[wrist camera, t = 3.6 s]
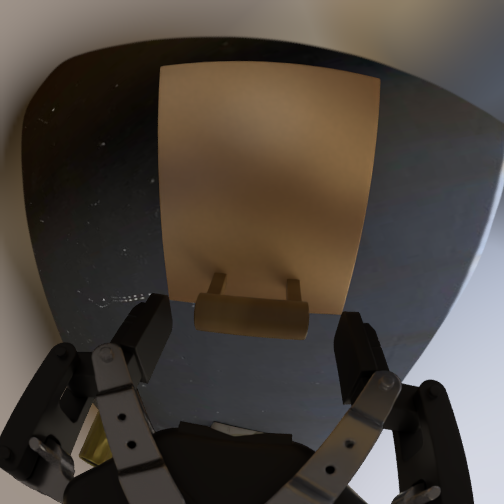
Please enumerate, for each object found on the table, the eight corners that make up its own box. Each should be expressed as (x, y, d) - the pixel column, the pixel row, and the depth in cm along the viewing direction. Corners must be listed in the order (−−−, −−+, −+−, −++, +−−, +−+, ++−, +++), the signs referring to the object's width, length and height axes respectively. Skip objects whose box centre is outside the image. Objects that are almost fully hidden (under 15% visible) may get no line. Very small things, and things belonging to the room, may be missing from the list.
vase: (135, 414, 41) (112, 475, 28) (106, 401, 40) (79, 459, 28) (135, 401, 38) (108, 468, 26) (104, 386, 38) (72, 450, 25)
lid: (339, 307, 16) (354, 364, 12) (173, 292, 17) (145, 344, 13) (375, 80, 11) (419, 64, 6) (165, 68, 11) (118, 49, 7)
